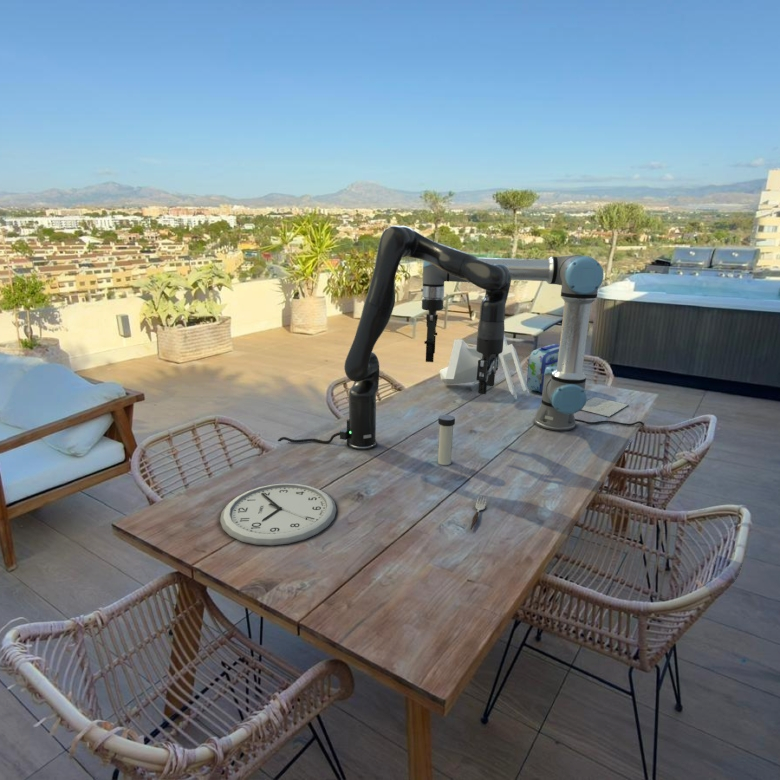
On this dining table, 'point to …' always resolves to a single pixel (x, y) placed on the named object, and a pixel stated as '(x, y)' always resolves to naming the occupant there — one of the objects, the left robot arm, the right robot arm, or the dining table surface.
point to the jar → (445, 445)
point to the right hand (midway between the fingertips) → (430, 357)
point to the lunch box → (541, 365)
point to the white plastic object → (467, 364)
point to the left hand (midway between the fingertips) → (486, 389)
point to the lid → (446, 420)
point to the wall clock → (278, 514)
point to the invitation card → (603, 406)
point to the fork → (478, 507)
